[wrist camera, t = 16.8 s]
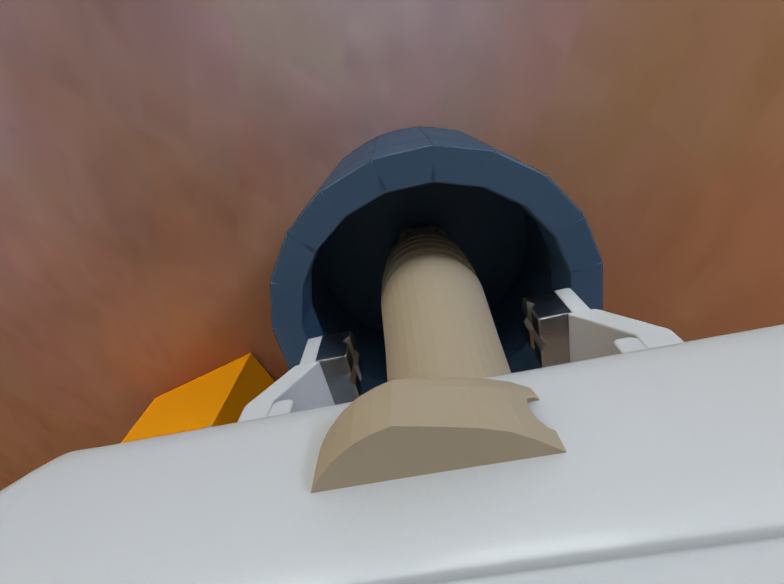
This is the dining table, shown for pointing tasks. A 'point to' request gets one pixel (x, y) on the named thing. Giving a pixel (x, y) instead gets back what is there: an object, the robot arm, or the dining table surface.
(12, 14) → the dining table surface
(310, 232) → the jar
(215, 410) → the orange juice
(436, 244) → the handle
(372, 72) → the dining table surface
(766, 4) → the dining table surface
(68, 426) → the dining table surface
